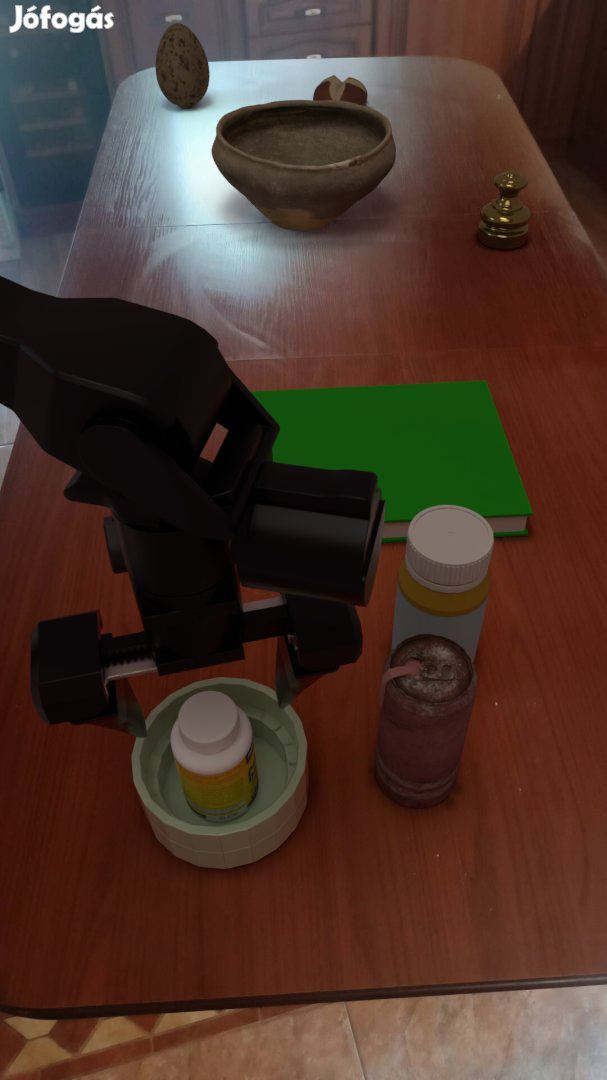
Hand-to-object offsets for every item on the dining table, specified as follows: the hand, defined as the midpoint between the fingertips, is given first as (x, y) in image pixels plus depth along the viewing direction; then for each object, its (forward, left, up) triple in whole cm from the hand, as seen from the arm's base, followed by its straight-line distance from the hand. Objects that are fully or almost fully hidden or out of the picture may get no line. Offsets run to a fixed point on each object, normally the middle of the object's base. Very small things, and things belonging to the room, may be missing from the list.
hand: (213, 716), depth 53 cm
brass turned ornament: (+55, +79, -10) cm, 97 cm away
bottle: (+19, +8, -10) cm, 23 cm away
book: (+21, +33, -10) cm, 40 cm away
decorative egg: (+16, +153, -10) cm, 154 cm away
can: (+14, -2, -10) cm, 18 cm away
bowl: (+28, +95, -10) cm, 100 cm away
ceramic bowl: (0, 0, -10) cm, 10 cm away
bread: (+47, +144, -10) cm, 152 cm away
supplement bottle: (0, 0, -10) cm, 10 cm away
